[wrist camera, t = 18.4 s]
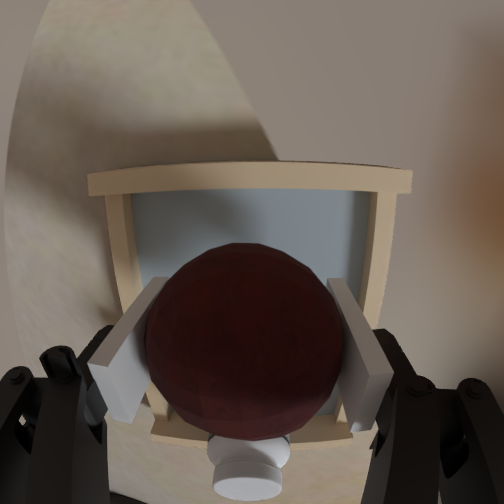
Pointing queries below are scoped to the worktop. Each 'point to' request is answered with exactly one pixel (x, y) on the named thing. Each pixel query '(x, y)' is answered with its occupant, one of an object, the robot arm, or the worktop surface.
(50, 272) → the worktop surface
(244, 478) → the pill bottle
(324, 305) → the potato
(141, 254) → the open tray
